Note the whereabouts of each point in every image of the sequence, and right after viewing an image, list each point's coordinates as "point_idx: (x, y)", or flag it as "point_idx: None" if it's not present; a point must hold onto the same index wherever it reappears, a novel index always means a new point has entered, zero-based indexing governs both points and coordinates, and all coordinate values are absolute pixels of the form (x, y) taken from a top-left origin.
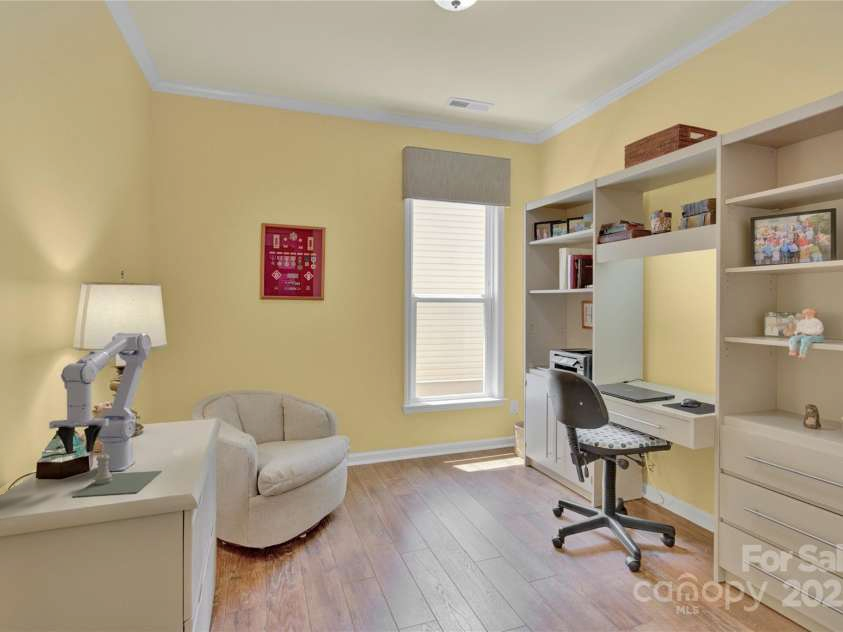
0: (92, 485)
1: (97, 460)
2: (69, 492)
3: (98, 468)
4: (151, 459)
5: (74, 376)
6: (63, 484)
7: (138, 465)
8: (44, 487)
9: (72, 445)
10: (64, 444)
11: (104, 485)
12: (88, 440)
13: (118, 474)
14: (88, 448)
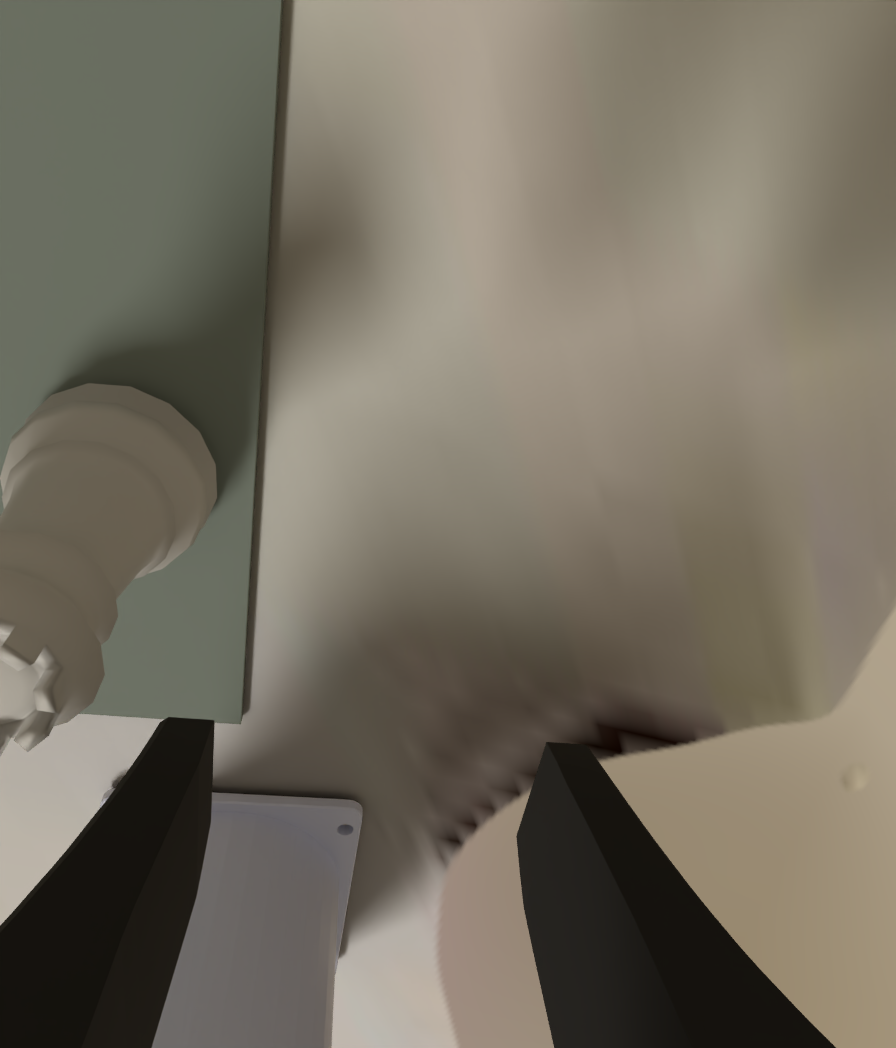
0: (203, 392)
1: (54, 591)
2: (401, 252)
3: (94, 524)
4: None
5: None
6: (553, 558)
7: None
8: (708, 522)
9: (542, 947)
10: (682, 900)
11: (45, 345)
12: (40, 959)
13: None
14: (139, 772)
